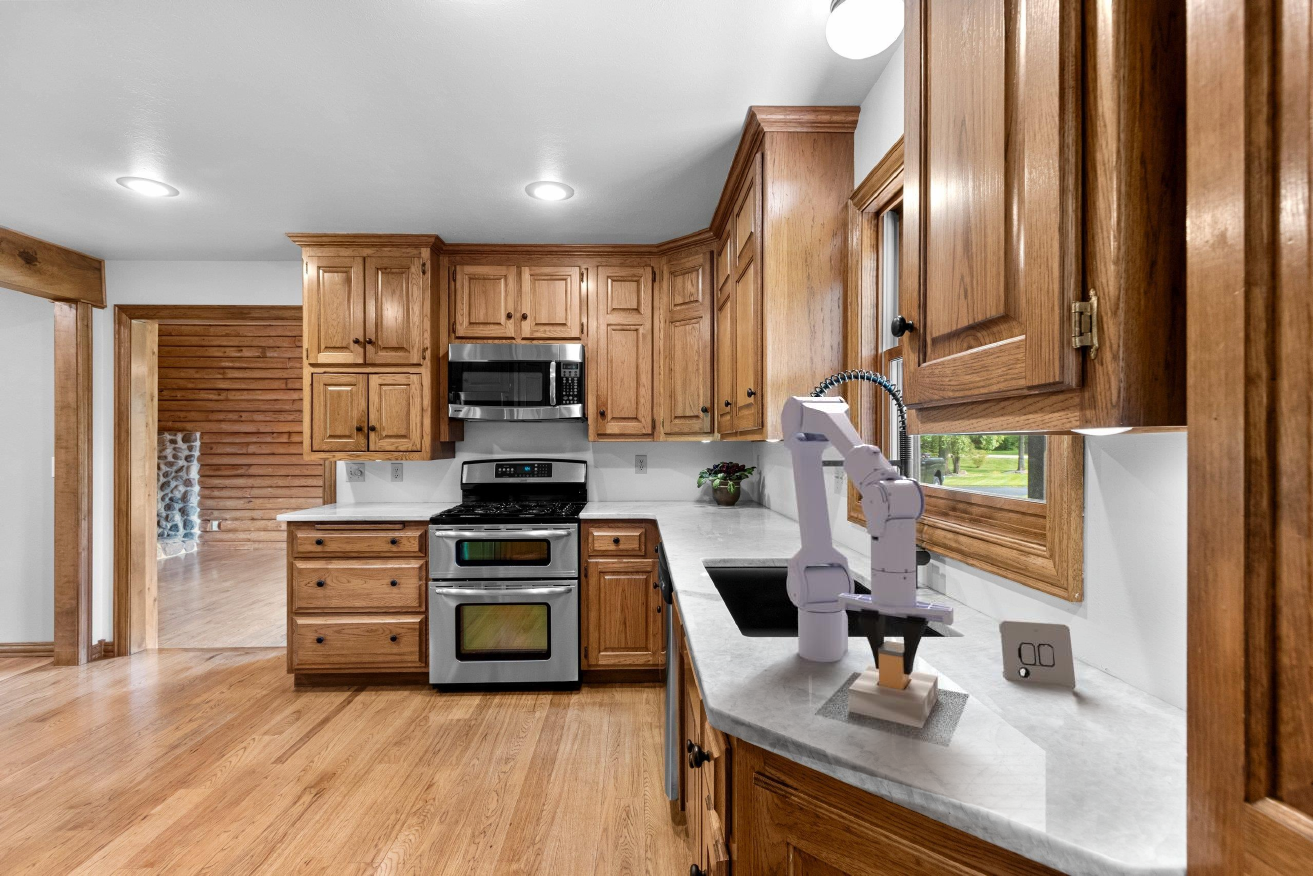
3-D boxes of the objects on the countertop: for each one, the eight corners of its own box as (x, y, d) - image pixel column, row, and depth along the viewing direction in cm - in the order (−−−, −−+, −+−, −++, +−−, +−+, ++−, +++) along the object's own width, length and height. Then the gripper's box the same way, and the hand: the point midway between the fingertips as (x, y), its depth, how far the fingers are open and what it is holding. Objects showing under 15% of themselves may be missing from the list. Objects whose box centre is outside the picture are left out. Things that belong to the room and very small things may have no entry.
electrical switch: (1004, 686, 93) (1002, 622, 94) (996, 677, 98) (994, 616, 99) (1077, 693, 90) (1074, 627, 91) (1064, 683, 95) (1062, 621, 96)
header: (854, 678, 96) (854, 652, 96) (969, 701, 88) (969, 673, 88) (813, 722, 81) (813, 691, 81) (948, 756, 73) (947, 721, 73)
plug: (886, 691, 87) (885, 640, 87) (909, 696, 85) (909, 644, 85) (878, 701, 84) (878, 648, 84) (903, 706, 82) (902, 653, 82)
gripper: (830, 568, 85) (831, 668, 85) (946, 580, 77) (947, 691, 77) (846, 559, 91) (847, 653, 91) (955, 570, 83) (956, 673, 83)
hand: (894, 669), depth 85 cm, fingers closed on plug, 3 cm apart
